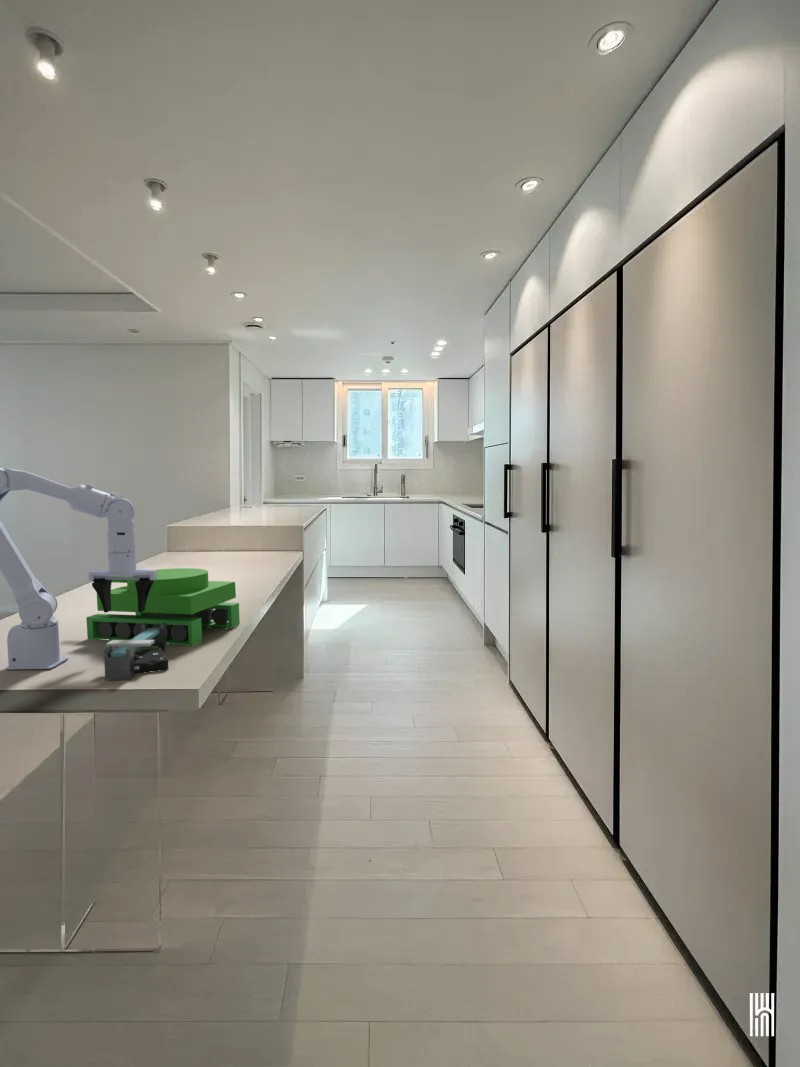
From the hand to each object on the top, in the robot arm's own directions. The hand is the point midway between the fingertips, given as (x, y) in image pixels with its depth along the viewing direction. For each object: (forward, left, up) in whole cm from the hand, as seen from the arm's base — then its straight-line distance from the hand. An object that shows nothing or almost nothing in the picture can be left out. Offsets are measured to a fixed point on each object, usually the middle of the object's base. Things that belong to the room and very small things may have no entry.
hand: (124, 611), depth 150 cm
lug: (+5, -16, -10) cm, 20 cm away
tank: (-1, +25, -11) cm, 27 cm away
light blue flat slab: (+5, -6, -6) cm, 10 cm away
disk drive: (+5, -6, -11) cm, 14 cm away
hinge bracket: (+5, +4, -10) cm, 12 cm away
